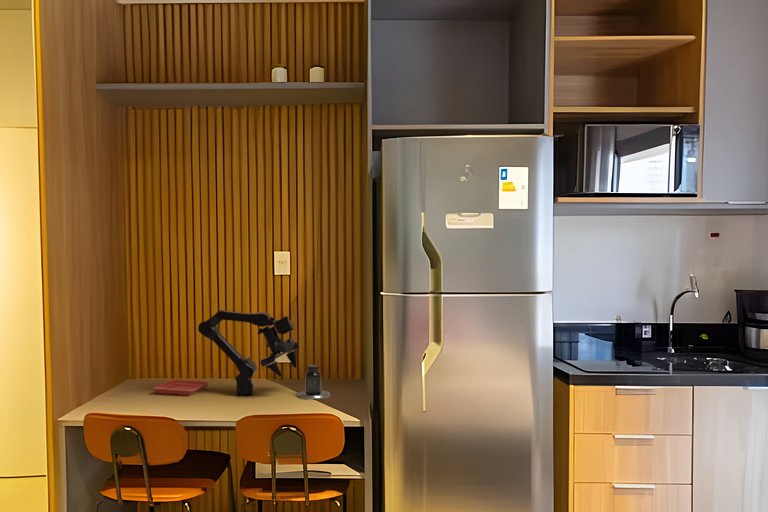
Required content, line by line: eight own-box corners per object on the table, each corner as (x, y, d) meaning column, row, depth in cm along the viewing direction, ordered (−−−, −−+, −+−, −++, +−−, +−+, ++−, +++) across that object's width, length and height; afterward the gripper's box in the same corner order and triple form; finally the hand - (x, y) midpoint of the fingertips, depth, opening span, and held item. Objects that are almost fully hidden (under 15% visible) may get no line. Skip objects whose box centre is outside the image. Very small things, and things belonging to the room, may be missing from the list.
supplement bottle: (310, 391, 287) (310, 364, 287) (323, 392, 285) (323, 365, 284) (302, 394, 281) (302, 366, 281) (316, 396, 278) (316, 367, 278)
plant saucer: (210, 388, 299) (210, 381, 299) (191, 397, 281) (191, 390, 281) (173, 386, 302) (173, 379, 302) (152, 395, 284) (152, 388, 284)
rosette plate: (297, 400, 275) (297, 397, 275) (297, 392, 289) (297, 390, 289) (330, 399, 277) (330, 396, 277) (329, 391, 291) (329, 389, 291)
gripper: (267, 343, 272) (283, 377, 272) (298, 327, 286) (314, 359, 286) (253, 349, 279) (268, 382, 279) (284, 333, 293) (298, 364, 293)
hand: (288, 371), depth 284 cm, fingers open, 9 cm apart
